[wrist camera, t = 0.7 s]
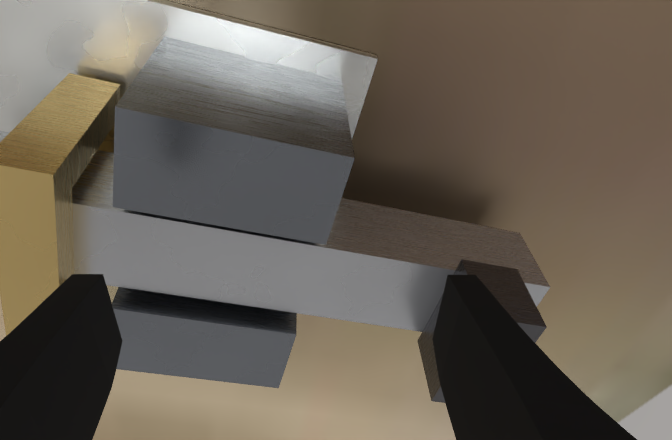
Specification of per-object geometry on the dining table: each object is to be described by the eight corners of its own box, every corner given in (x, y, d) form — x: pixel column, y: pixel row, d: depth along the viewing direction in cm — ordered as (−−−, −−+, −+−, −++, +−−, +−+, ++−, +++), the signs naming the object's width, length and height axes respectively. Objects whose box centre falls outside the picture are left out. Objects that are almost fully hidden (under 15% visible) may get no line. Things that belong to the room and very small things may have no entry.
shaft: (526, 222, 20) (591, 334, 15) (481, 296, 22) (527, 412, 17) (-25, 111, 16) (-151, 216, 11) (-10, 214, 18) (-111, 335, 14)
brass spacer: (120, 84, 17) (53, 174, 13) (115, 232, 21) (62, 345, 16) (69, 73, 17) (-19, 161, 12) (73, 225, 20) (6, 338, 16)
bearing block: (376, 54, 18) (402, 132, 13) (299, 296, 25) (298, 406, 20) (-74, -62, 15) (-248, -17, 10) (-23, 246, 22) (-114, 360, 17)
